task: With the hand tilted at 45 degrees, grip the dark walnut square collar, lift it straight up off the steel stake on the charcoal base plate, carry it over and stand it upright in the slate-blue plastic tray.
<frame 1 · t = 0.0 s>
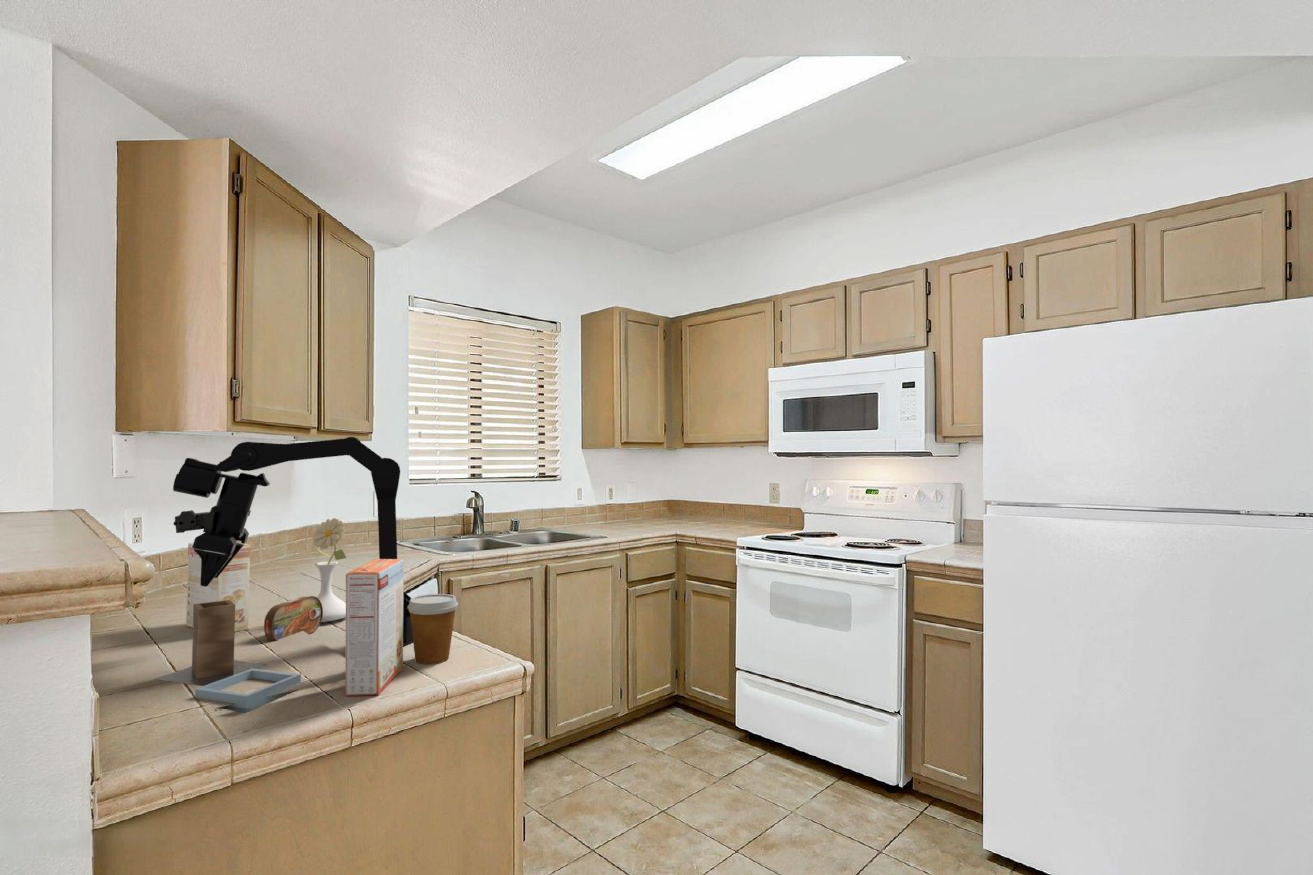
hand: (209, 581, 126), 15 cm above the counter, tool pointing down, fingers open, 9 cm apart
coffeecake box: (216, 628, 150), on the counter
slate tray: (249, 696, 108), on the counter
cracker box: (374, 683, 116), on the counter
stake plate: (212, 678, 117), on the counter
tin: (293, 638, 143), on the counter
walnut collar: (212, 671, 117), point 1 cm above the counter, touching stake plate
flower in vase: (327, 621, 157), on the counter
disposable coffee cup: (432, 660, 129), on the counter
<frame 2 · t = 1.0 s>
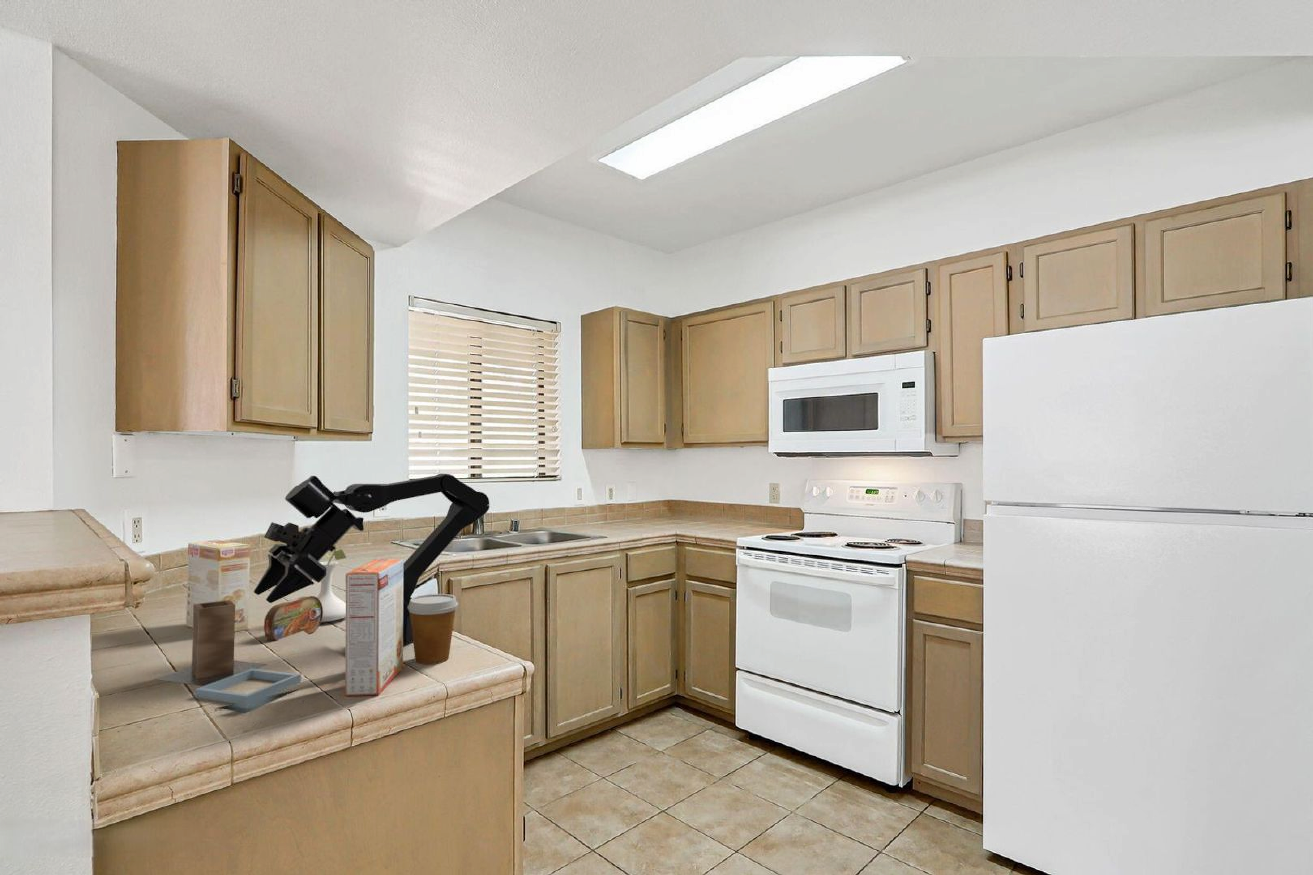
hand: (261, 597, 123), 13 cm above the counter, tool tilted 45°, fingers open, 9 cm apart
nothing on the counter moved.
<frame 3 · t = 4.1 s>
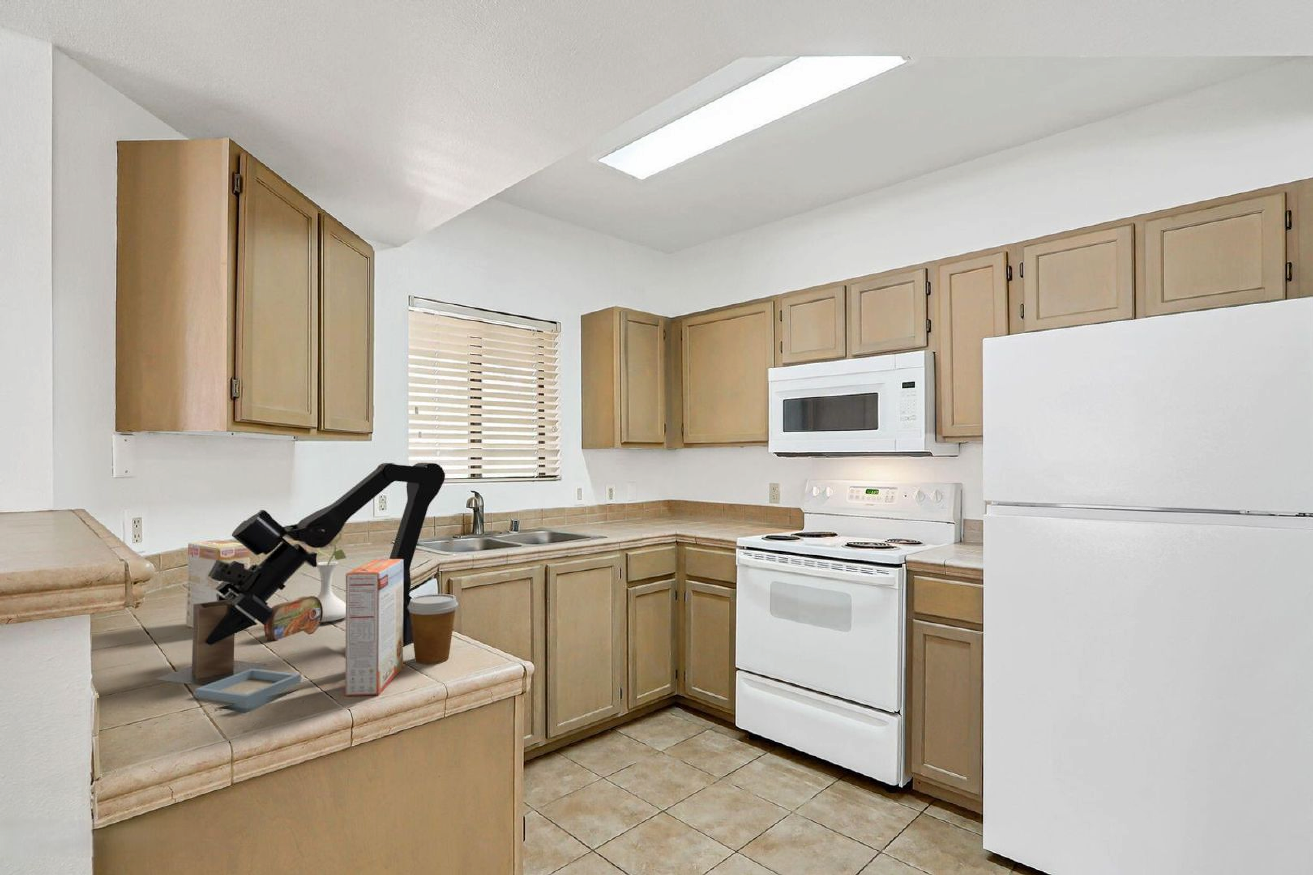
hand: (204, 639, 116), 7 cm above the counter, tool tilted 45°, fingers closed on walnut collar, 5 cm apart
walnut collar: (212, 671, 117), point 1 cm above the counter, touching gripper, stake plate
everything else where it was.
when the fingers open (8 cm above the counter, at t = 9.1 s): walnut collar drops 1 cm, resting on slate tray.
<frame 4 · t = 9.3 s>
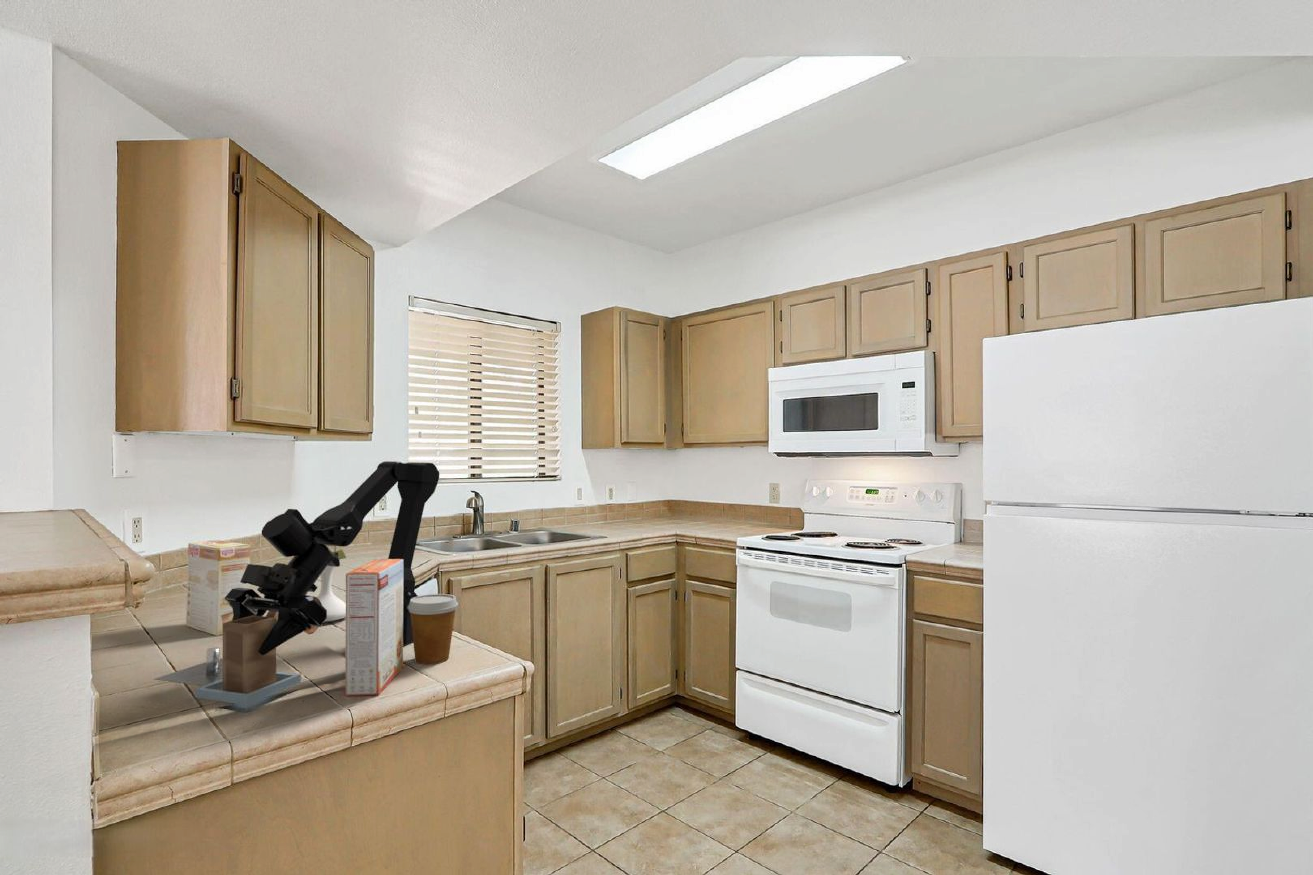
hand: (242, 650, 107), 8 cm above the counter, tool tilted 45°, fingers open, 8 cm apart
walnut collar: (249, 692, 108), point 1 cm above the counter, touching slate tray
everything else where it was.
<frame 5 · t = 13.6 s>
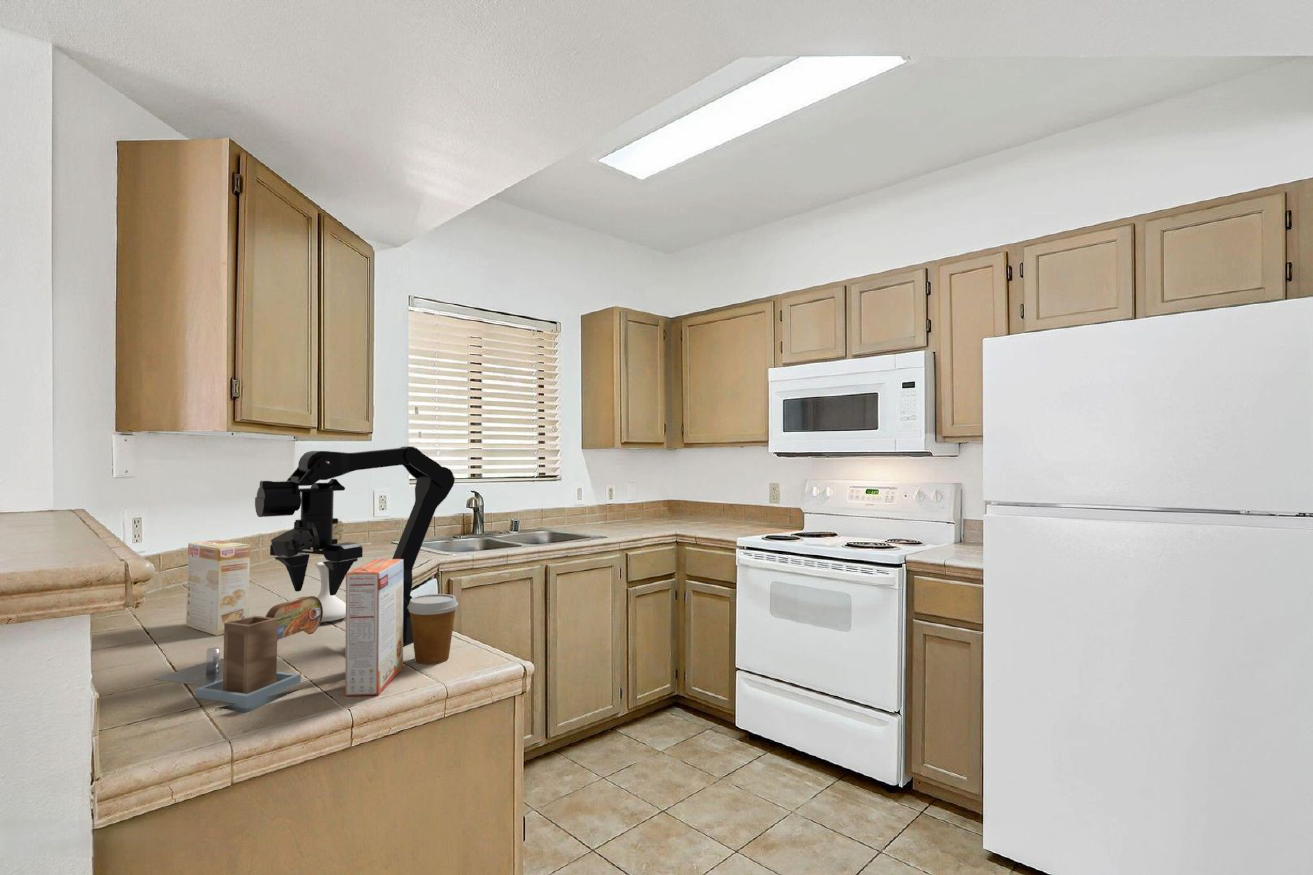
hand: (315, 593, 128), 13 cm above the counter, tool pointing down, fingers open, 9 cm apart
nothing on the counter moved.
at the end: walnut collar 0.1 cm off-centre on the slate tray, point 0.6 cm above the slate tray's base; walnut collar tilted 0°; the gripper is holding nothing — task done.
